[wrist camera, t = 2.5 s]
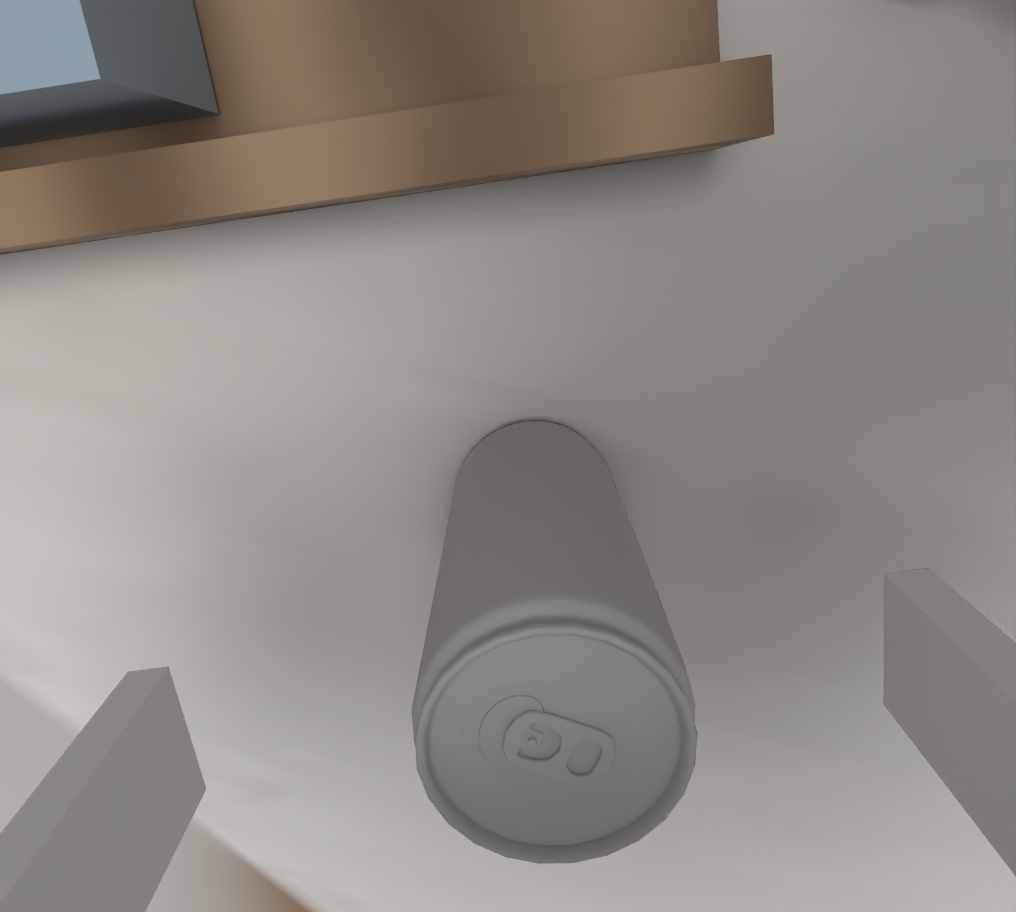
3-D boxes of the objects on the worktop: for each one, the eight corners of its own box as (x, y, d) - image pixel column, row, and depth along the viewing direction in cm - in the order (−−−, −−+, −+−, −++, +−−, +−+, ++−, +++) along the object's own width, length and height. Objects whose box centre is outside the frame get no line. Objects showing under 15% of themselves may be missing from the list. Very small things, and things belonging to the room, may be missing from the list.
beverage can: (488, 391, 23) (466, 576, 12) (639, 448, 24) (758, 678, 12) (433, 533, 25) (366, 822, 13) (577, 584, 25) (633, 903, 14)
